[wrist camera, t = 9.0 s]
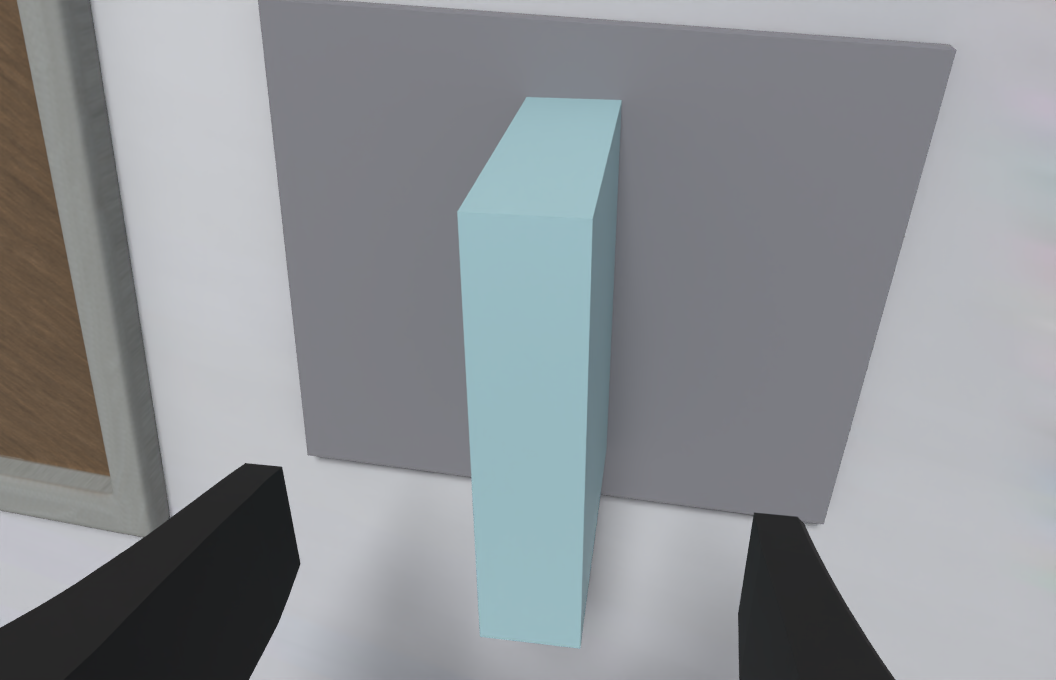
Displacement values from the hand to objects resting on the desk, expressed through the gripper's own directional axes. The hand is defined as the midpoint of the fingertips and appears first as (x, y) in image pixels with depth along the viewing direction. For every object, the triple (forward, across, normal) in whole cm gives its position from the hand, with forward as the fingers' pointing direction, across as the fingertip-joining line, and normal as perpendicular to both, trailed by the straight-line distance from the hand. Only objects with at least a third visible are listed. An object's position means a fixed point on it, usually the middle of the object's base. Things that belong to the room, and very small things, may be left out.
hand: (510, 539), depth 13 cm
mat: (+9, 0, 0) cm, 9 cm away
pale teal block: (+8, 0, 0) cm, 9 cm away
